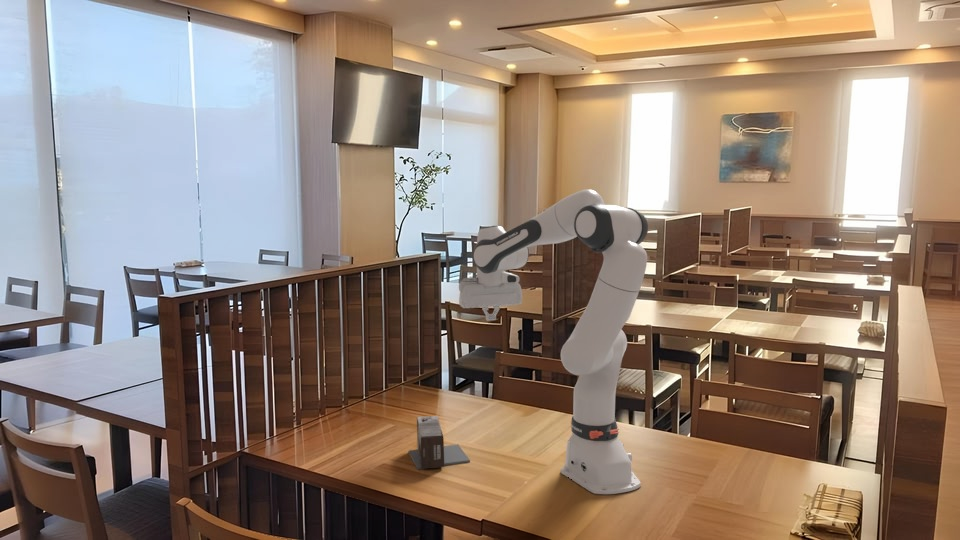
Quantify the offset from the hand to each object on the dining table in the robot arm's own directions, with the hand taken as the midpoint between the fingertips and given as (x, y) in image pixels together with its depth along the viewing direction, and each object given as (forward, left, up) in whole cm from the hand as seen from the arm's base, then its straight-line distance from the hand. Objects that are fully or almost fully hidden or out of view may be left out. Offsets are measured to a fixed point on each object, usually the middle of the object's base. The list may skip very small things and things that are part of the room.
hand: (490, 320), depth 214 cm
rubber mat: (-21, +23, -34) cm, 46 cm away
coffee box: (-13, +24, -29) cm, 40 cm away
